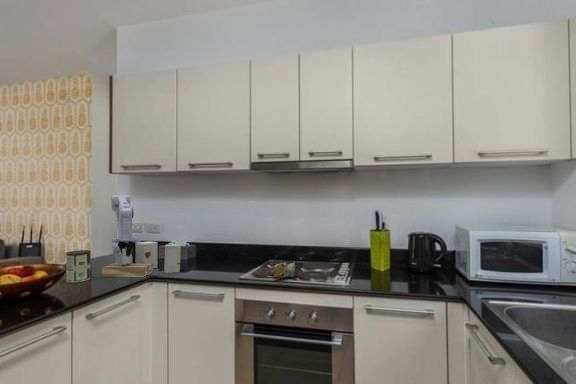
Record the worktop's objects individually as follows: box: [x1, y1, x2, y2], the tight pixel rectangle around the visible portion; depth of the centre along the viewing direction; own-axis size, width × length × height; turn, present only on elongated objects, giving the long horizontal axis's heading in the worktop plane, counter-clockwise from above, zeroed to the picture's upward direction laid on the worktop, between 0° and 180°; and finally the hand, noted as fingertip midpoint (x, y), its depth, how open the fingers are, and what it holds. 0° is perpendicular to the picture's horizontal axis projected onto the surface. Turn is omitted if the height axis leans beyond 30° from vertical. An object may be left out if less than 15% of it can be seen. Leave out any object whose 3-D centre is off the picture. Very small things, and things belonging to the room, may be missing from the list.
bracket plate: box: [122, 248, 130, 264], centre depth 173 cm, size 4×2×8 cm, turn 178°
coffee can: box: [65, 249, 92, 284], centre depth 162 cm, size 10×10×14 cm
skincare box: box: [163, 243, 182, 274], centre depth 180 cm, size 8×6×15 cm
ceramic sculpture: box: [264, 260, 296, 280], centre depth 164 cm, size 11×9×15 cm
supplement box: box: [135, 241, 159, 269], centre depth 190 cm, size 9×9×15 cm
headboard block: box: [101, 262, 154, 278], centre depth 173 cm, size 10×22×5 cm, turn 88°
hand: (126, 256), depth 173 cm, fingers closed on bracket plate, 2 cm apart
